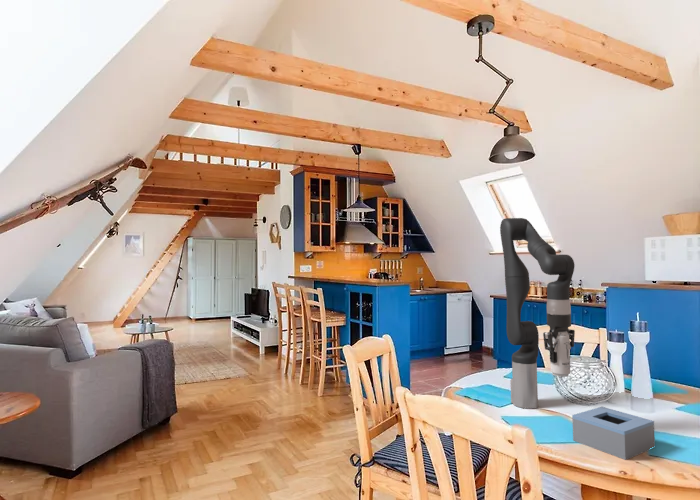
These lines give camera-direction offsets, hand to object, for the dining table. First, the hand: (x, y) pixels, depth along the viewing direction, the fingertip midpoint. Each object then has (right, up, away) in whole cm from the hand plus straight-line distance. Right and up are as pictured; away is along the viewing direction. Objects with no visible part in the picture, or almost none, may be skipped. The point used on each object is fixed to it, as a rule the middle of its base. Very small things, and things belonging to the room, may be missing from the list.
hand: (559, 361), depth 149 cm
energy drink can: (0, -5, 0) cm, 5 cm away
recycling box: (+10, -22, -14) cm, 28 cm away
